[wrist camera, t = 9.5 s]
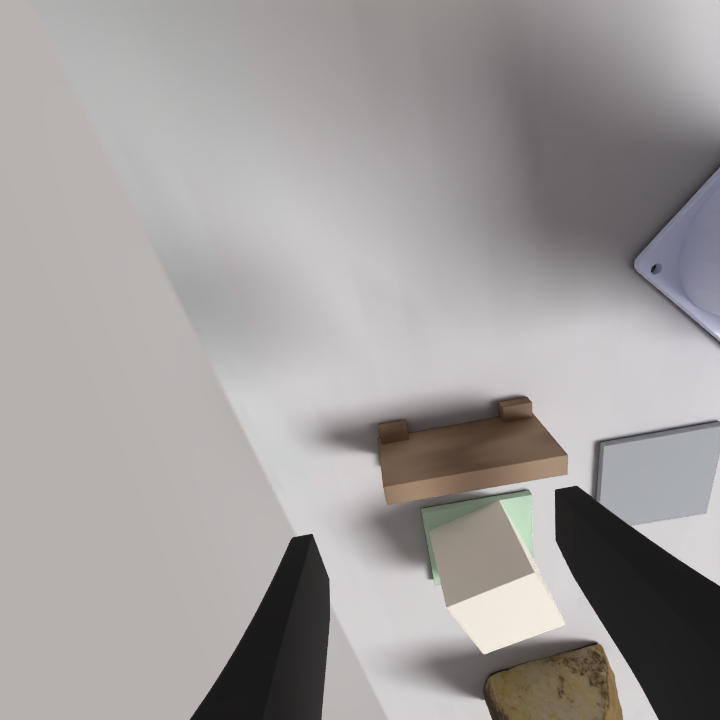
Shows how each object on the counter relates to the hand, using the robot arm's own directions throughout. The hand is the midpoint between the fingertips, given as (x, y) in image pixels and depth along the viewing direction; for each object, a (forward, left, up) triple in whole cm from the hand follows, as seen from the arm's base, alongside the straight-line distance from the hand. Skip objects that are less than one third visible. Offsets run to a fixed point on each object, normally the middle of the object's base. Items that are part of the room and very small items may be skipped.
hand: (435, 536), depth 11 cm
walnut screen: (-5, +1, -10) cm, 12 cm away
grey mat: (-18, -3, -10) cm, 21 cm away
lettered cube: (-12, +6, -10) cm, 17 cm away
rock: (-27, +16, -11) cm, 33 cm away
